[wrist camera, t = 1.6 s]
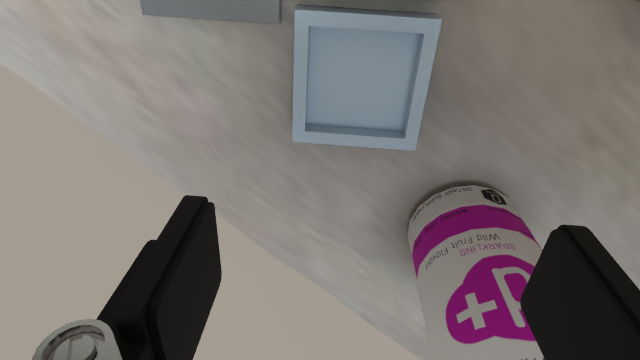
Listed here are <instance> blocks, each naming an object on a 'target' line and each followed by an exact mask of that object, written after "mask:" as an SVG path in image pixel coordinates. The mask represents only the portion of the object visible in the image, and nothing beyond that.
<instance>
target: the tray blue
mask: <svg viewBox="0 0 640 360" xmlns="http://www.w3.org/2000/svg"><path fill="white" fill-rule="evenodd" d="M441 23H442V19H441V18H440V17H439V16H437V15H436V14H428V13H413V12H399V11H384V10H369V9H355V8H340V7H325V6H311V5H298V6H297V7H296V8H295V20H294V71H293V123H292V142H303V143H316V144H329V145H343V146H356V147H369V148H382V149H396V150H409V151H415V150H416V145H417V140H418V135H419V130H420V125H421V120H422V116H423V111H424V106H425V101H426V96H427V91H428V86H429V81H430V77H431V72H432V67H433V62H434V57H435V52H436V47H437V42H438V38H439V33H440V28H441Z"/></svg>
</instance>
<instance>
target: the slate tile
mask: <svg viewBox="0 0 640 360" xmlns="http://www.w3.org/2000/svg"><path fill="white" fill-rule="evenodd" d="M140 2H141V8H142V13H143V15H154V16H168V17H183V18H197V19H211V20H226V21H240V22H255V23H269V24H280V22H281V0H140Z"/></svg>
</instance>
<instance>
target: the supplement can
mask: <svg viewBox="0 0 640 360" xmlns="http://www.w3.org/2000/svg"><path fill="white" fill-rule="evenodd" d="M407 237H408V242H409V247H410V252H411V257H412V262H413V267H414V272H415V277H416V282H417V287H418V292H419V297H420V302H421V307H422V312H423V316H424V321H425V326H426V331H427V336H428V341H429V346H430V351H431V356H432V360H545V359H544V357H543V355H542V352H541V350H540V348H539V346H538V344H537V342H536V340H535V337H534V335H533V333H532V331H531V329H530V327H529V325H528V323H527V320H526V318H525V316H524V314H523V312H522V309H521V305H520V299H521V296H522V293H523V291H524V289H525V287H526V285H527V283H528V281H529V278H530V276H531V274H532V272H533V270H534V268H535V266H536V263H537V261H538V259H539V257H540V255H541V253H542V250H541V248H540V246H539V245H538V243H537V242H536V240H535V238H534V237H533V235H532V233H531V232H530V230H529V229H528V227H527V225H526V224H525V222H524V221H523V219H522V217H521V216H520V214H519V213H518V211H517V210H516V208H515V207H514V205H513V204H512V202H511V201H510V199H509V198H508V197H506V196H504V195H503V194H501V193H499V192H498V191H496V190H494V189H491V188H486V187H481V186H476V185H470V186H461V187H452V188H450V189H447V190H445V191H442V192H440V193H437V194H435V195H433V196H432V197H430V198H429V199H428V200H427V201H425V202H424V203H423V204H422V205H420V206H419V207H418V209H417V210H416V212H415V213H414V215H413V216H412V218H411V220H410V222H409V228H408V234H407Z"/></svg>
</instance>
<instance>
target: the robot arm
mask: <svg viewBox="0 0 640 360" xmlns="http://www.w3.org/2000/svg"><path fill="white" fill-rule="evenodd" d="M220 282H221V263H220V253H219V244H218V234H217V225H216V216H215V207H214V203H212V202H208V199H207V197H202V196H189V195H186V196H184V197H183V199H182V200H181V202H180V204H179V205H178V207H177V208H176V210H175V212H174V213H173V215H172V216H171V218H170V219H169V221H168V223H167V224H166V226H165V227H164V229H163V231H162V232H161V234H160V235H159V237H158V239H157V240H150V241H148V242H147V243H146V245H145V246H144V247H143V249H142V250H141V252H140V253H139V255H138V257H137V258H136V259H135V261H134V263H133V264H132V266H131V267H130V269H129V270H128V272H127V273H126V275H125V276H124V278H123V280H122V281H121V283H120V284H119V286H118V287H117V289H116V290H115V292H114V293H113V295H112V296H111V298H110V299H109V301H108V302H107V304H106V305H105V307H104V309H103V310H102V311H101V313H100V315H99V316H98V318H97V319H96V320H95V319H85V320H78V321H75V322H71V323H69V324H66V325H64V326H62V327H60V328H59V329H57V330H55V331H54V332H52V333H51V334H50V335H49V336H47V337H46V338H45V339H44V340H43V341H42V343H41V344H40V345H39V346H38V347H37V349H36V351H35V353H34V356H33V358H32V360H193V357H194V354H195V352H196V349H197V346H198V343H199V341H200V338H201V335H202V332H203V330H204V326H205V324H206V321H207V319H208V316H209V313H210V310H211V308H212V305H213V302H214V300H215V297H216V294H217V291H218V289H219V286H220ZM520 305H521V309H522V312H523V314H524V316H525V318H526V320H527V323H528V325H529V327H530V329H531V331H532V333H533V335H534V337H535V340H536V342H537V344H538V346H539V348H540V350H541V352H542V355H543V357H544V359H545V360H640V290H639V289H638V288H637V286H636V285H635V284H634V283H633V282H632V280H631V279H630V278H629V277H628V276H627V274H626V273H625V272H624V271H623V269H622V268H621V267H620V266H619V265H618V263H617V262H616V261H615V260H614V259H613V257H612V256H611V255H610V254H609V253H608V251H607V250H606V249H605V248H604V247H603V245H602V244H601V243H600V242H599V241H598V239H597V238H596V237H595V236H594V234H593V233H592V232H591V231H590V230H589V229H588V228H587V227H584V226H574V225H561V226H559V227H558V229H555V230H553V231H552V232H551V233H550V235H549V238H548V240H547V242H546V244H545V246H544V248H543V251H542V253H541V255H540V257H539V259H538V261H537V263H536V266H535V268H534V270H533V272H532V274H531V276H530V278H529V281H528V283H527V285H526V287H525V289H524V291H523V293H522V296H521V299H520Z"/></svg>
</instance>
